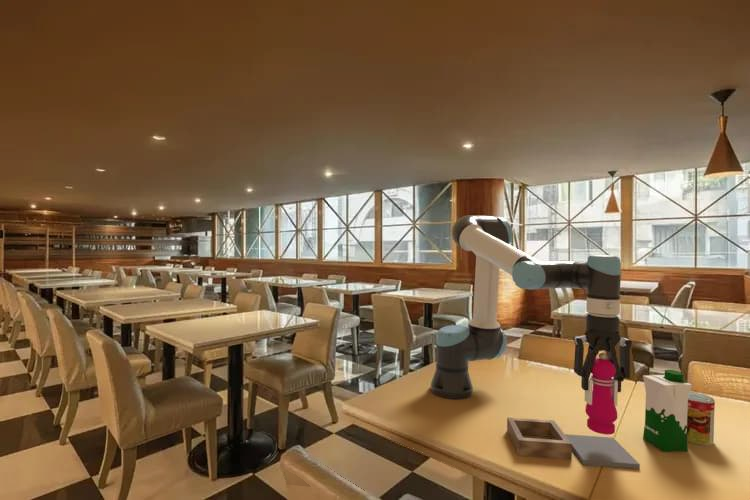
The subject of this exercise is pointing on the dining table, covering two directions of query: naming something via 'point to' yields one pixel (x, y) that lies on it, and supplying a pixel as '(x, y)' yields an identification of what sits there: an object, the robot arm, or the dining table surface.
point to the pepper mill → (602, 397)
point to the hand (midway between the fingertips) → (600, 402)
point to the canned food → (700, 419)
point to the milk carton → (666, 411)
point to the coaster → (601, 452)
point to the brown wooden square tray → (539, 447)
